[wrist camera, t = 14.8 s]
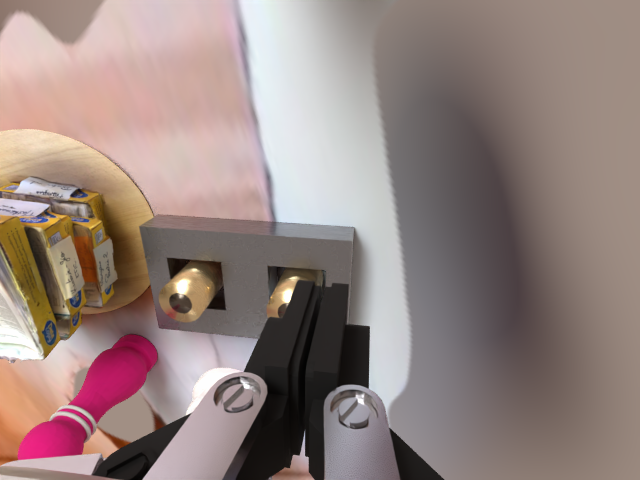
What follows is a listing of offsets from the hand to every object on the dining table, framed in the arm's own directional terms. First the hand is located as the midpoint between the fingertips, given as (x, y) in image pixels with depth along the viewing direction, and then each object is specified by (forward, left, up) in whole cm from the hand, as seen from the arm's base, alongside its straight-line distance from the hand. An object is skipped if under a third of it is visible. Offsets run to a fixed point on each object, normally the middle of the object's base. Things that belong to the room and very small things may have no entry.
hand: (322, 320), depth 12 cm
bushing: (+15, -6, -29) cm, 33 cm away
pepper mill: (+30, -31, -29) cm, 52 cm away
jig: (+15, -12, -29) cm, 35 cm away
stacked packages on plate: (+11, -37, -29) cm, 48 cm away
